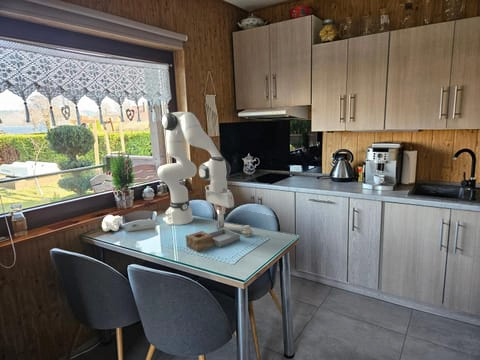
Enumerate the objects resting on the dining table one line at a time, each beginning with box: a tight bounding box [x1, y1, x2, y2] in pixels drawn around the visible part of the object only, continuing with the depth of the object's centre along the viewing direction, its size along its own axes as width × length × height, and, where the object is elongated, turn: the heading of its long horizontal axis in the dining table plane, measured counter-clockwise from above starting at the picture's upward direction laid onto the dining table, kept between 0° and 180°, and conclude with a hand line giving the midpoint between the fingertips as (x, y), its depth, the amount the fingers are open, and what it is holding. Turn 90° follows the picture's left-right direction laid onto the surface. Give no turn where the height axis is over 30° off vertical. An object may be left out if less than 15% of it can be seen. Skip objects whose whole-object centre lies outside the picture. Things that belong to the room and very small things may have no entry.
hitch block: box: [185, 230, 214, 253], centre depth 163 cm, size 10×10×6 cm
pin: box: [216, 206, 225, 229], centre depth 168 cm, size 3×3×11 cm
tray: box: [208, 228, 241, 249], centre depth 170 cm, size 14×14×4 cm
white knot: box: [101, 214, 123, 232], centre depth 195 cm, size 11×12×9 cm
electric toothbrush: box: [216, 222, 253, 238], centre depth 182 cm, size 5×7×25 cm
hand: (220, 212), depth 168 cm, fingers closed on pin, 3 cm apart
